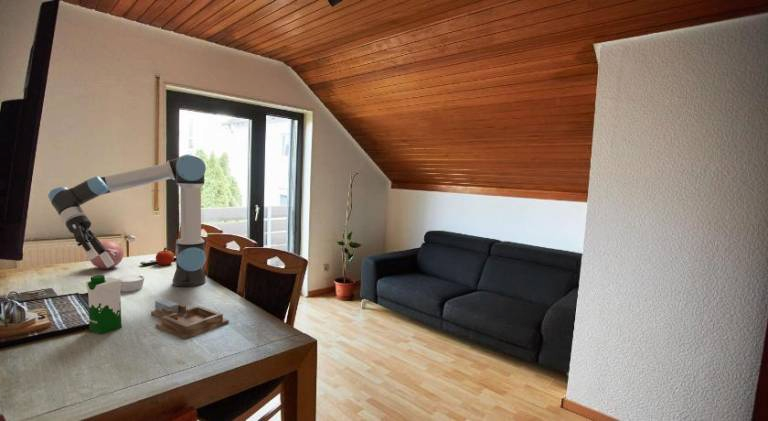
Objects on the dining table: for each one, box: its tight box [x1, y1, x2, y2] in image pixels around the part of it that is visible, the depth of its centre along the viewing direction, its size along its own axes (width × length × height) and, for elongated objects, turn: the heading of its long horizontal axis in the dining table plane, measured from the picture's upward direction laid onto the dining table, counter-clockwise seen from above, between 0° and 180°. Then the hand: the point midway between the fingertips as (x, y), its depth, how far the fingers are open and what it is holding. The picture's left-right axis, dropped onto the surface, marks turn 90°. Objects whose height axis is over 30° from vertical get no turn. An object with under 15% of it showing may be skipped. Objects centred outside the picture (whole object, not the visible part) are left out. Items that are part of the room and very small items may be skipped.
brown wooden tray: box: [150, 303, 230, 340], centre depth 150 cm, size 18×31×4 cm, turn 60°
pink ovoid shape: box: [89, 240, 124, 270], centre depth 212 cm, size 15×20×15 cm
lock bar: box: [154, 298, 179, 314], centre depth 155 cm, size 4×10×4 cm, turn 60°
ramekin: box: [116, 274, 145, 293], centre depth 183 cm, size 11×11×5 cm
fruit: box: [155, 247, 175, 266], centre depth 227 cm, size 10×10×10 cm
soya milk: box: [85, 274, 123, 335], centre depth 139 cm, size 9×9×20 cm
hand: (102, 261), depth 152 cm, fingers open, 13 cm apart
